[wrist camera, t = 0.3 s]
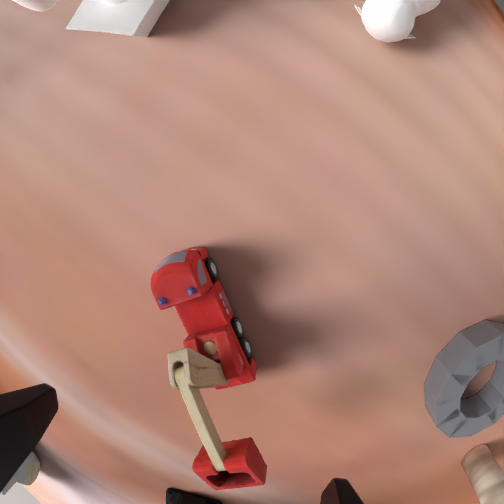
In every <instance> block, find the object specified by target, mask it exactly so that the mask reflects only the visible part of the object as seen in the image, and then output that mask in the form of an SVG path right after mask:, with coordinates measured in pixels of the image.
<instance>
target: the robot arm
mask: <svg viewBox="0 0 504 504" xmlns="http://www.w3.org/2000/svg"><path fill="white" fill-rule="evenodd" d="M57 411H58V400H57V394H56V390H55V389H54V388H53V387H51V386H50V385H48V384H45V383H43V384H39V385H36V386H32V387H28V388H24V389H20V390H16V391H12V392H8V393H4V394H0V493H1V492H2V490H3V489H4V488H5V486H6V485H7V484H8V482H9V481H10V480H11V478H12V477H13V475H14V474H15V473H16V471H17V470H18V469H19V467H20V466H21V465H22V463H23V462H24V461H25V460H26V458H27V457H28V456H29V454H30V453H31V452H32V450H33V449H34V448H35V446H36V445H37V444H38V442H39V441H40V439H41V438H42V436H43V434H44V433H45V431H46V429H47V428H48V426H49V424H50V423H51V421H52V419H53V418H54V416H55V414H56V413H57ZM166 504H223V503H222V502H219V501H215V500H211V499H207V498H203V497H199V496H196V495H192V494H188V493H185V492H182V491H178V490H175V489H172V488H168V489H167V491H166ZM320 504H364V503H363V502H362V500H361V499H360V497H359V496H358V495H357V493H356V492H355V490H354V489H353V487H352V486H351V484H350V483H349V482H348V480H346V479H342V478H334V479H332V480H331V482H330V483H329V484H328V486H327V487H326V488H325V490H324V491H323V493H322V496H321V502H320Z"/></svg>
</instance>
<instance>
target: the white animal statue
mask: <svg viewBox="0 0 504 504" xmlns="http://www.w3.org/2000/svg"><path fill="white" fill-rule="evenodd" d="M440 1H441V0H366V1H365V3H364V5H363V7H362V11H361V9H360V8H359V9H360V10H359V9H358V8H357V6H355V7H356V9H357V11H358V12H359V15H361V18H362V22H363V24H364V26H365V28H366V30H367V32H368V33H369V34H370V35H371V36H372V37H373V38H375V39H377V40H379V41H383V42H389V43H390V42H398V41H401V40H403V39H410V38H416V37H407V36H412V35H409V34H410V32H411V31H412V29H413V26H414V22H415V17H416V16H419V15H422V14H425V13H427V12H428V11H430V10H433V9H434V8H435V7H436V6H437V5H439V3H440ZM358 7H359V6H358ZM360 11H361V12H360Z"/></svg>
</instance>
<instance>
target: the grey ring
mask: <svg viewBox="0 0 504 504" xmlns="http://www.w3.org/2000/svg"><path fill="white" fill-rule="evenodd" d="M496 360H497V361H496ZM494 361H496V369H495V371H494V373H493V375H492V377H491V379H490V381H489V382H488V383H487V384H486V385H485V386H484V387H483V388H482V390H481V391H480V392H479V393H477V394H475V395H473V396H471V397H469V398H467V399H460V398H461V396H462V394H463V392H464V391H465V389H466V387H467V385H468V383H469V381H470V380H471V379H472V378H473V377H474V376H475V375H476V374H477V373H478V372H479V371H480V370H481V369H482V368H483V367H485V366H487V365H489V364H491V363H493V362H494ZM424 392H425V407H426V408H427V410H428V412H429V414H430V416H431V417H432V419H433V421H434V423H435V425H436V427H438V428H439V429H440V430H441V431H442V432H444V433H445V434H446V435H447V436H448V437H465V436H472V435H474V434H476V433H478V432H480V431H482V430H483V429H485V428H487V427H489V426H491V425H492V424H494V423H495V422H496V421H497V420H498V419H499V418H500V417H501V416H502V415H503V414H504V323H500V322H494V321H489V320H483V321H481V322H479V323H477V324H475V325H473V326H471V327H469V328H467V329H464V330H462V331H460V332H459V333H458V334H457V335H456V336H455V337H454V338H453V339H452V340H451V341H450V343H449V344H448V345H447V346H446V347H445V348H444V349H443V350H442V351H441V352H440V353H439V354H438V355H437V356H436V358H435V361H434V363H433V365H432V367H431V370H430V372H429V374H428V376H427V378H426V381H425V383H424Z"/></svg>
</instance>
